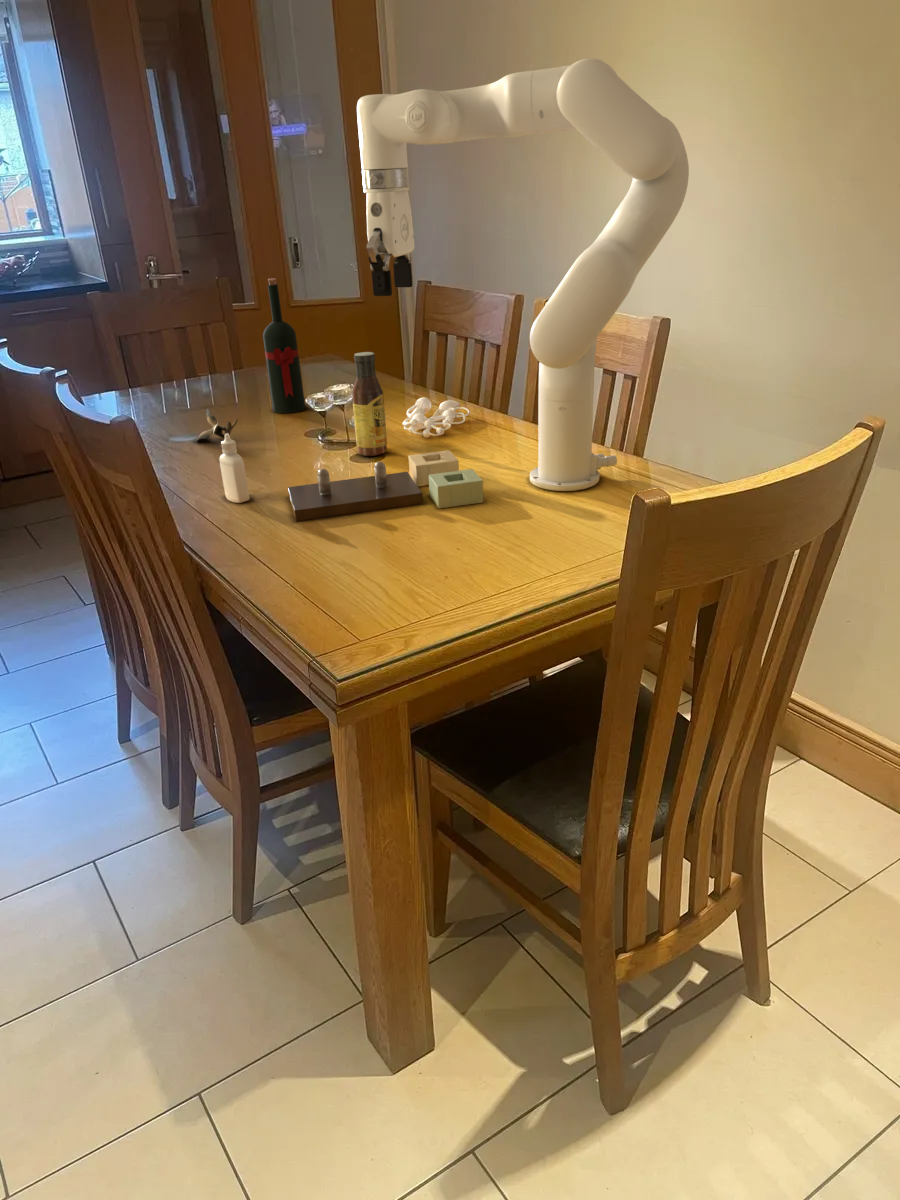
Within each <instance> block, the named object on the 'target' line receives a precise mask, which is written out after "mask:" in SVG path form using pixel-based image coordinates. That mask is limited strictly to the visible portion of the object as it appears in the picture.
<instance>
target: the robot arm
mask: <svg viewBox="0 0 900 1200" xmlns="http://www.w3.org/2000/svg"><path fill="white" fill-rule="evenodd" d="M356 117H357V129H358V140H359V153H360V164H361V165H360V166H361V176H362V177H361V178H362V188H363V189H362V190H363V193H364V194H366V205H365V206H366V234H367V243H366V250H367V254H368V257H367V259H368V262H369V263H370V264H369V265H370V266H369V268H370V269H369V270H370V271H371V280H372V292H373V296H375V297H391V296H392V295H393V287H392V273H391V272H392V271H391V270H390V269H389V267H390V262H391V256H392V257H393V260H394V262H393V263H392V265H393V266H392V267H393V281H394V282H393V283H394V287H395V288H412V287H413V285H414V284H413V271H412V269H413V268H412V262H413V261H412V259H413V258H412V254H411V253H412V252H413V251H414V250H415V247H416V245H415V233H414V225H413V215H412V207H411V200H410V196H409V191H410V182H409V166H408V150H407V149H408V148H407V144H411V145H420V146H421V145H423V146H430V145H444V144H453V143H459V142H466V141H473V140H475V141H476V140H482V139H491V138H506V139H511V138H521V137H527V136H535V135H542V134H549V133H550V134H551V133H558V132H567V131H569V132H570V131H577V132H578V133H580V135H582V137H583V138H585V140H587V141H588V142H589V143H590V144H591V145H593V146H594V147H595V148H596V149H597V150H599V152H600V153H602V154H603V155H604V156H605V157H606V158H607V159H608V160H610V161H611V163H613V164H614V165H615V166H616V167H618V169H620V170H621V171H622V172H623V173H624V174H626V175H627V176H629V177H630V178H632V180H631V183H630V187H629V189H628V191H627V192H626V194H625V196H624V198H623V199H622V200H621V202H620V204H619V205H618V207H616V209H615V211H614V212H613V214H612V216H611V217H610V219H609V221H608V222H607V224H606V225H605V226H604V228H603V229H602V231H601V232H600V233H599V234H598V236H597V238H596V239H595V240H594V241H593V242H592V243H591V245H589V246H588V247H587V248H586V249H585V250H583V252H581V253H580V255H578V256H577V258H576V259H575V260H574V262H573V264H572V265H571V266H570V268H569V269H568V270H567V272H566V274H565V275H564V277H563V278H562V280H561V281H560V282H559V284H558V286H557V287H556V288H555V290H554V292H553V293H552V295H551V296H550V298H549V299H548V300H547V302H546V303H545V305H544V306H543V308H542V309H541V310H540V312H539V314H538V315H537V317H535V320H534V321H533V323H532V325H531V327H530V332H529V345H530V350H531V352H532V355H533V356H534V358H535V359H536V360H537V361H538V362H539V363H538V394H537V396H538V401H537V402H538V403H537V404H538V406H537V407H538V408H537V409H538V411H537V412H538V416H537V418H538V419H537V421H538V422H537V426H538V427H537V428H538V429H537V430H538V431H537V432H538V433H537V435H538V438H537V441H538V442H537V443H538V445H537V446H538V447H537V449H538V451H537V453H538V454H537V459H538V460H537V461H538V462H537V463H538V464H537V465H538V466H537V467H535V468H533V469H532V470H531V471H530V472H529V482H530V483H531V484H532V485H534V486H535V487H538V488H539V489H543V490H549V491H556V492H574V491H580V490H585V489H589V488H591V487H594V486H595V485H597V484H598V483H599V482H600V472H599V470H601V468H605V467H606V468H608V467H614V466H617V464H618V458H617V456H616V455H615V454H612V455H605V454H604V453H596V454H594V453H593V450H592V449H593V423H594V421H593V420H594V419H593V418H594V396H595V394H594V393H595V372H596V371H595V369H596V355H597V344H598V343H597V342H598V337H599V335H600V334H601V332H602V331H603V330H604V328H605V327H606V326H607V324H608V323H609V321H610V320H611V319H612V317H614V315H615V314H616V313H617V310H618V309H619V308H620V307H621V305H622V304H623V302H624V301H625V300H626V298H627V296H628V295H629V293H630V291H631V289H632V287H633V285H634V283H635V280H636V278H637V276H638V275H639V273H640V272H641V270H642V268H643V267H645V264H646V263H647V262H648V260H649V259H650V258H651V255H652V254H653V253H654V252H655V250H656V249H657V247H658V245H660V242H661V240H663V238H664V237H665V235H666V234H667V232H668V231H669V230H670V228H671V226H672V224H673V223H674V221H675V219H676V218H677V216H678V214H679V213H680V210H681V209H682V206H683V202H684V201H685V198H686V195H687V189H688V185H689V178H690V177H689V176H690V175H689V174H690V168H689V165H690V164H689V159H688V154H687V150H686V147H685V143H684V140H683V138H682V136H681V133H680V132H679V129H678V127H677V126H676V124H674V122H672V120H670V119H669V118H668V117H665V116H663V115H662V114H661V113H660V112H659V111H658V110H656V108H654V107H653V106H652V105H651V104H649V102H647V101H646V100H645V99H644V98H642V97H641V95H640V94H638V93H637V92H635V90H633V88H631V86H629V85H628V84H627V83H626V82H625V81H624V80H623V79H622V78H621V77H620V76H619V75H618V74H617V72H616V70H615V69H614V68H613V67H612V66H611V65H609V64H608V63H606V62H605V61H603V60H600V59H599V58H593V57H588V58H587V57H586V58H582V59H579V60H577V61H575V62H573V63H572V64H568V65H562V66H557V67H556V66H555V67H550V68H549V67H548V68H542V69H536V70H525V71H517V72H514V73H509V74H507V75H504V76H502V77H501V78H499V79H498V80H496V81H493V82H491V83H487V84H482V85H479V86H473V87H466V88H459V89H451V90H443V91H440V90H433V89H425V88H422V89H420V88H419V89H414V90H410V91H405V92H401V93H396V94H394V93H393V94H392V93H379V94H378V93H377V94H376V93H375V94H366V95H363V96H361V97H360V98H359V99H358V100H357V104H356Z"/></svg>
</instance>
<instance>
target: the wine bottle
mask: <svg viewBox="0 0 900 1200" xmlns="http://www.w3.org/2000/svg"><path fill="white" fill-rule="evenodd" d="M267 281H268V284H267V289H268V290H267V291H268V298H269V304H270V311H271V318H272V321H271V322H270V323H269V324H268V325H267V326H266V327H265V329H264V330H263V333H262V339H263V347H264V354H265V362H266V368H267V376H268V383H269V391H270V398H271V399H270V400H271V407H272V411H273V412H274V413H276V414H293V413H298V412H302V411H304V410H305V409H306V402H305V401H306V400H305V393H304V387H303V379H302V371H301V363H300V356H299V349H298V341H297V333H296V331H295V329H294V328H293V326H292V325H291V324H289V323H288V322H286V321H284V320H283V315H282V309H281V300H280V291H279V285H278V283H277V279H276V278H274V277H273V278H268V279H267Z"/></svg>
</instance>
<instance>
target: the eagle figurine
mask: <svg viewBox="0 0 900 1200" xmlns="http://www.w3.org/2000/svg"><path fill="white" fill-rule="evenodd" d="M205 410H206V411H205V416H206V421H207V423H208V424H209V426H211V428H209V429H208V430H205V431H202V432H201V433H200V434H199V435H198V437H197V438H196V439H195V440H194V441H195V442H197V441H199V440H202V439H203V440H205V439H209V438H210V437H211V436H214V435H215V436H218V437H219V438H221V439H225V434H229V436H230V435H231V434H232V433H231V432H232V430H233V429H234V427H235V426H236V425H237V423H238V421H239V419H238V418H236V419H235V420H234V422H233V423H232V422H230V421H229V420H227V423H226V426H223V427H222V426H220V425H219V422H218V420H217V418H216V417H215V415H213V414H212V413H211V411H210V409H209V408H207V409H205ZM223 431H224V433H223Z"/></svg>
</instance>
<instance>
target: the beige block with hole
mask: <svg viewBox="0 0 900 1200" xmlns="http://www.w3.org/2000/svg"><path fill="white" fill-rule="evenodd" d="M407 460H408V471H409V472H408V473H409V475H410V476H411V478H412V479H413V481H414V482H415V483H416V485H417V486H418V487H424V486H429V475H430V474H438V473H445V472H453V471H460V465H459V460H458V458H457V457H456V455H454V453H452V451H450V449H447V450H442V451H441V450H439V451H431V452H424V453H416V454H409V455H408V457H407Z"/></svg>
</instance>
